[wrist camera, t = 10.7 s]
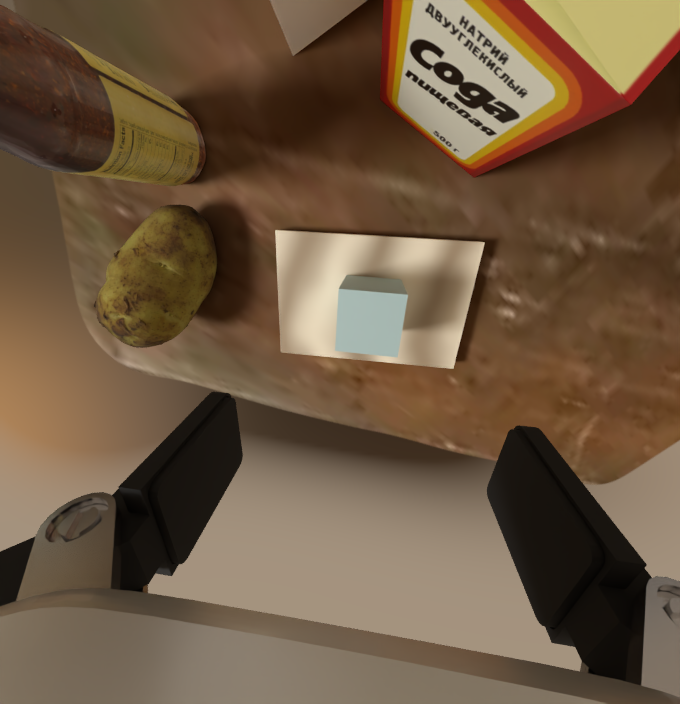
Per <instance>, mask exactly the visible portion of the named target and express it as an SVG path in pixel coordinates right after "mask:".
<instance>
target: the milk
mask: <svg viewBox="0 0 680 704" xmlns="http://www.w3.org/2000/svg"><path fill="white" fill-rule="evenodd" d="M366 1H367V0H270V2H271V4H272V6H273V9H274V11H275V14H276V16H277V19H278V21H279V23H280V26H281V28H282V31H283V33H284V35H285V38H286V40H287V43H288V45H289V48H290V50H291V52H292V55H293V56H294V55H295V54H297V53H298V52H299V51H301V50H302V49H303V48H305V47H306V46H307V45H309V44H310V43H311V42H313V41H314V40H315V39H317V38H318V37H319V36H321V35H322V34H323V33H325V32H326V31H327V30H329V29H330V28H331V27H333V26H334V25H335V24H337V23H338V22H339V21H340V20H342V19H343V18H344V17H346V16H347V15H348V14H350V13H351V12H352V11H354V10H355V9H356V8H358V7H359V6H360V5H362V4H363V3H364V2H366Z"/></svg>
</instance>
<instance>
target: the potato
mask: <svg viewBox="0 0 680 704" xmlns="http://www.w3.org/2000/svg"><path fill="white" fill-rule="evenodd" d="M216 269H217V254H216V247H215V243H214V239H213V235H212V232H211V229H210V226H209V224H208V223H207V221H206V220H205V219H204V218H203V217H202V216H201V215H200V214H199V213H198V212H197V211H196V210H195V209H193V208H192V207H189V206H186V205H167V206H163V207H160V208H159V209H157V210H155V211H154V212H153V213H152V214H150V215H149V216H148V217H147V218H146V220H145V221H144V222H143V223H142V224H141V225H140V226H139V227H138V228H137V230H136V231H135V232H134V233H133V234H132V236H131V237H130V238H129V239H128V240H127V242H126V243H125V244H124V245H123V246H122V248H121V249H120V250H119V251H117V252H116V253H114V257H113V259H112V260H111V261H110V263H109V265H108V268H107V272H106V283H105V285H104V286H103V287H102V289H101V290H100V292H99V294H98V296H97V300H96V301H95V304H94V307H95V308H96V311H97V319H98V321H99V323H101V325H102V326H103V327H105V328H106V329H107V330H108V331H109V332H110V333H111V334H112V335H114V336H115V337H116V338H117V339H119V340H120V341H121V342H123V343H125V344H127V345H130V346H133V347H140V348H145V347H151V346H156V345H160V344H163V343H164V342H167V341H169V340H171V339H173V338H174V337H176V336H177V335H178V334H180V333H181V332H182V331H183V330H184V329H185V328H186V327H187V326H188V324H189V322H190V321H191V320H192V318H193V317H194V315H195V314H196V312H197V310H198V309H199V307H200V305H201V303H202V301H203V300H204V299H205V298H206V296H207V295H208V294H209V292H210V290H211V288H212V285H213V282H214V278H215V274H216Z"/></svg>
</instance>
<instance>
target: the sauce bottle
mask: <svg viewBox="0 0 680 704" xmlns="http://www.w3.org/2000/svg"><path fill="white" fill-rule="evenodd" d="M0 149H2V150H3V151H6V152H8V153H11V154H12V155H15V156H17V157H19V158H21V159H23V160H24V161H26V162H28V163H30V164H33V165H35V166H38V167H41V168H45V169H48V170H52V171H57V172H65V173H72V174H81V175H89V176H97V177H105V178H113V179H121V180H128V181H135V182H143V183H150V184H157V185H165V186H177V185H180V184H181V185H183V184H188V183H191V182H193V181H194V180H195V179H196V177H197V176H198V175H199V174H200V172H201V170H202V168H203V167H204V163H205V160H206V151H205V144H204V141H203V137H202V134H201V132H200V128H199V126H198V124H197V122H196V121H195V120H194V118H193V117H192V116H191V115H190V114H189V113H188V112H187V111H186V110H185V109H183V108H182V107H181V106H179V105H178V104H177V103H176V102H175V101H174V100H173V99H171V98H170V97H168V96H167V95H165V94H163V93H161V92H159V91H158V90H156V89H154V88H152V87H151V86H149V85H147V84H145V83H143V82H142V81H140V80H138V79H136V78H135V77H133V76H131V75H129V74H127V73H126V72H124V71H122V70H120V69H119V68H117V67H115V66H113V65H111V64H110V63H108V62H106V61H104V60H103V59H101V58H99V57H97V56H96V55H94V54H92V53H90V52H89V51H87V50H85V49H83V48H82V47H80V46H78V45H76V44H75V43H73V42H71V41H69V40H67V39H66V38H64V37H62V36H60V35H58V34H57V33H55V32H53V31H51V30H48V29H46V28H43V27H39V26H38V25H36V24H34V23H32V22H30V21H29V20H27V19H25V18H23V17H22V16H20V15H18V14H17V13H15V12H13V11H11V10H9V9H8V8H6V7H4V6H2V5H0Z"/></svg>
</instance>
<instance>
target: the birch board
mask: <svg viewBox="0 0 680 704" xmlns="http://www.w3.org/2000/svg"><path fill="white" fill-rule="evenodd" d="M275 234H276V256H277V279H278V301H279V323H280V346H281V352H283V353H294V354H304V355H315V356H325V357H335V358H346V359H356V360H367V361H377V362H388V363H398V364H409V365H419V366H430V367H440V368H451V369H453V368H454V364H455V360H456V356H457V352H458V348H459V344H460V340H461V336H462V332H463V328H464V324H465V320H466V316H467V312H468V308H469V304H470V300H471V296H472V292H473V288H474V284H475V280H476V276H477V272H478V268H479V264H480V260H481V256H482V252H483V248H484V244H485V242H480V241H464V240H447V239H430V238H412V237H395V236H378V235H360V234H343V233H326V232H308V231H291V230H275ZM346 275H353V276H365V277H377V278H389V279H401V280H402V282H403V285H404V287H405V289H406V291H407V294H408V298H407V304H406V310H405V316H404V322H403V328H402V334H401V340H400V346H399V352H398V357H389V356H379V355H370V354H360V353H351V352H341V351H335V343H336V326H337V309H338V292H339V287H340V286H341V284H342V282H343V280H344V278H345V277H346Z"/></svg>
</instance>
